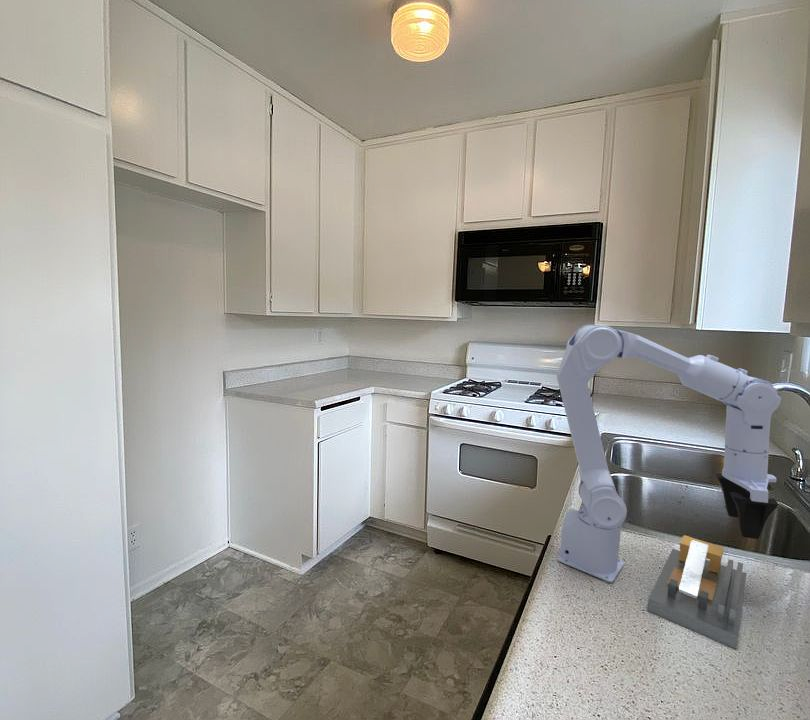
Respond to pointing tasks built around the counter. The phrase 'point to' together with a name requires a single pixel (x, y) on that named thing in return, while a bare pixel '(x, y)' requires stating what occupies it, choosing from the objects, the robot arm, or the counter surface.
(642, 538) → the counter surface
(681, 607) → the grey fixture base plate
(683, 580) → the strap
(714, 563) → the clip
